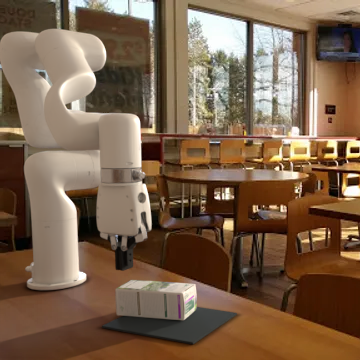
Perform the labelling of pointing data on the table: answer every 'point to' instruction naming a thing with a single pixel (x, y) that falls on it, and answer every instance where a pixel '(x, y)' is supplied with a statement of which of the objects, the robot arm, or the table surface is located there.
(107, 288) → the table surface
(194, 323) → the mat
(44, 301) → the table surface
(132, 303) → the syrup box
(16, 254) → the table surface
